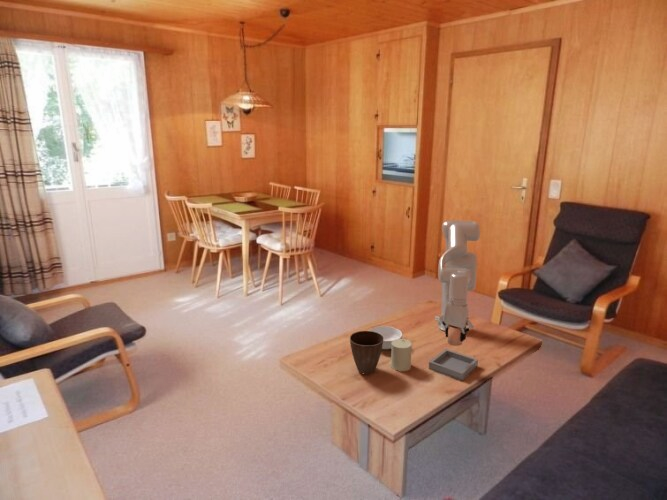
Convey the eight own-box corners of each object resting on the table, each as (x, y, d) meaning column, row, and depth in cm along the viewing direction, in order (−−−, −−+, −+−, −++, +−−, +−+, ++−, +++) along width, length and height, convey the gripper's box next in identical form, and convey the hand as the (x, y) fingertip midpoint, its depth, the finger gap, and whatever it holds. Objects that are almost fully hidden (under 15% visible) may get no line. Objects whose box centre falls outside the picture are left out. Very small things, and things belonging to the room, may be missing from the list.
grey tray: (428, 368, 204) (429, 361, 203) (445, 355, 216) (445, 348, 215) (461, 381, 194) (462, 373, 193) (477, 366, 206) (478, 359, 205)
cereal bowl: (363, 350, 222) (363, 337, 220) (373, 336, 237) (373, 323, 235) (397, 356, 216) (397, 342, 214) (405, 341, 231) (405, 328, 229)
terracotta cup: (445, 342, 201) (445, 326, 199) (451, 338, 206) (452, 321, 204) (458, 347, 197) (459, 330, 195) (464, 342, 202) (466, 325, 200)
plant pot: (344, 365, 208) (344, 333, 203) (373, 359, 213) (374, 328, 209) (358, 382, 194) (358, 348, 190) (388, 375, 199) (389, 342, 195)
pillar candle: (412, 363, 209) (413, 339, 206) (409, 372, 201) (410, 348, 198) (392, 359, 212) (393, 336, 209) (388, 369, 204) (389, 345, 201)
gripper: (435, 298, 199) (433, 335, 204) (473, 307, 188) (470, 347, 193) (443, 293, 205) (441, 330, 209) (480, 302, 194) (477, 341, 198)
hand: (455, 338), depth 201 cm, fingers closed on terracotta cup, 6 cm apart
